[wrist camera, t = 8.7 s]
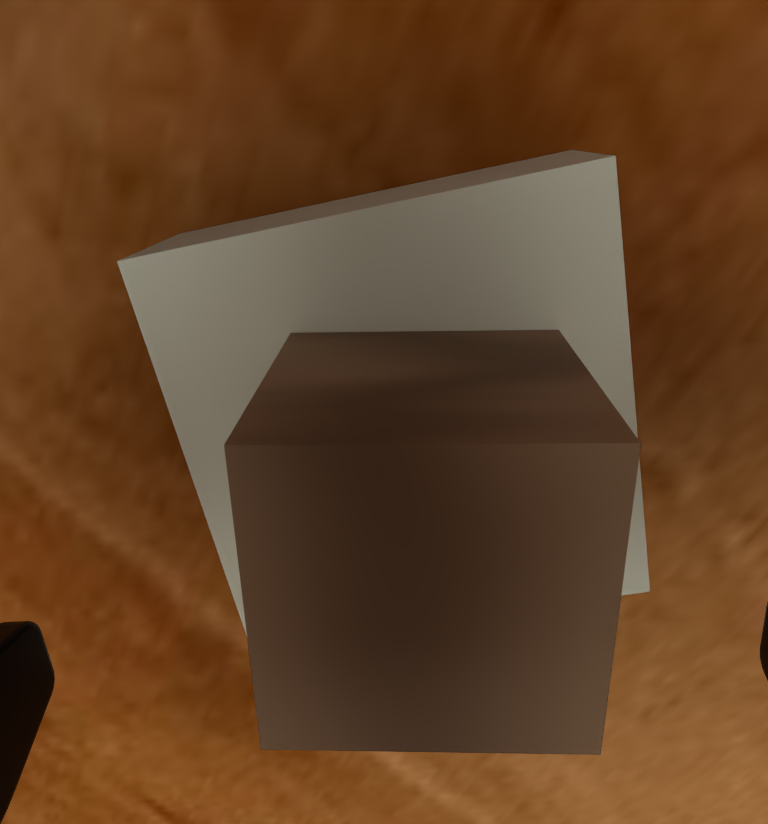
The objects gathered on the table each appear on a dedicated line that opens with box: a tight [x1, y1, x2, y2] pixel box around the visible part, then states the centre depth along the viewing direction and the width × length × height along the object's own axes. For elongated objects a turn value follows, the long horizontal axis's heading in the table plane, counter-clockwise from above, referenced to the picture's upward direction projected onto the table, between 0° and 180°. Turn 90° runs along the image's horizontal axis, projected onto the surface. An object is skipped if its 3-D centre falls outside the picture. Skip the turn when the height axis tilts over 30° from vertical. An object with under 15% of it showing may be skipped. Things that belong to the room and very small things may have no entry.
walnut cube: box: [224, 330, 641, 755], centre depth 12 cm, size 5×5×5 cm
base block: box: [117, 150, 650, 635], centre depth 16 cm, size 9×9×4 cm
